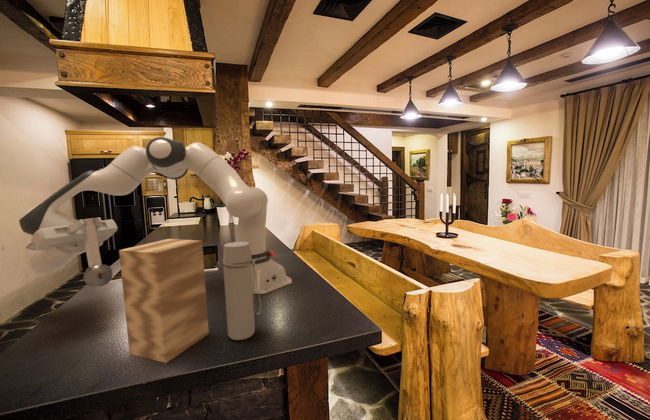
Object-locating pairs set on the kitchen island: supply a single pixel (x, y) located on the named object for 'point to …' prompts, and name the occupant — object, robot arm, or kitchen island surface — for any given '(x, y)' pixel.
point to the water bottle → (239, 290)
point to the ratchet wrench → (94, 258)
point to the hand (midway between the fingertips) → (91, 220)
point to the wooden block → (164, 297)
